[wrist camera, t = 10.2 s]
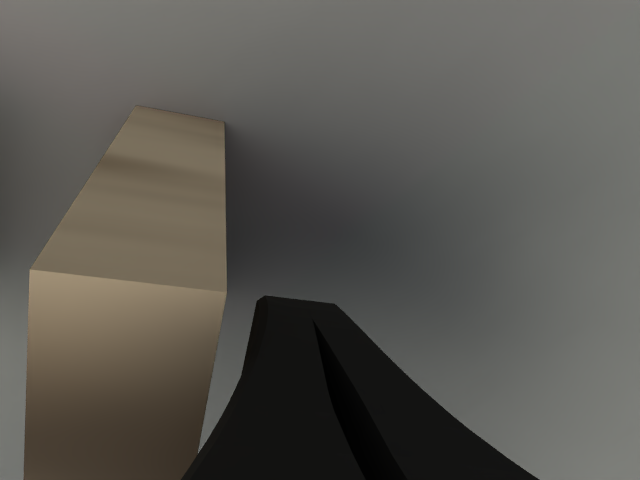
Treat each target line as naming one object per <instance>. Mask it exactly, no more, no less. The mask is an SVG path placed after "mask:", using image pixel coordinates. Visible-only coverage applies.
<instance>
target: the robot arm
mask: <svg viewBox="0 0 640 480" xmlns="http://www.w3.org/2000/svg"><path fill="white" fill-rule="evenodd" d="M181 480H539V479H538V478H536V477H534V476H533V475H531V474H530V473H529V472H527V471H526V470H524V469H523V468H521V467H520V466H518V465H517V464H515V463H514V462H513V461H511V460H510V459H508V458H507V457H506V456H504V455H503V454H502V453H500V452H499V451H497V450H496V449H495V448H493V447H492V446H491V445H489V444H488V443H487V442H485V441H484V440H483V439H481V438H480V437H479V436H477V435H476V434H475V433H473V432H472V431H471V430H469V429H468V428H467V427H466V426H464V425H463V424H462V423H461V422H460V421H458V420H457V419H456V418H455V417H453V416H452V415H451V414H450V413H449V412H448V411H446V410H445V409H444V408H443V407H442V406H441V405H439V404H438V403H437V402H436V401H435V400H434V399H433V398H431V397H430V396H429V395H428V394H427V393H426V392H425V391H423V390H422V389H421V388H420V387H419V386H418V385H417V384H416V383H415V382H414V381H413V380H412V379H410V378H409V377H408V376H407V375H406V374H405V373H404V372H403V371H402V370H401V369H400V368H399V367H398V366H397V365H396V364H395V363H394V362H393V361H392V360H391V359H390V358H389V357H388V356H387V355H386V354H385V353H384V352H383V351H382V350H381V349H380V348H379V347H378V346H377V345H376V344H375V343H374V342H373V341H372V340H371V339H370V338H369V337H368V336H367V335H366V334H365V333H364V332H363V331H362V330H361V329H360V328H359V327H358V326H357V325H356V324H355V323H354V322H353V321H352V320H351V319H350V318H349V317H348V316H347V315H346V314H345V313H344V312H343V311H342V310H341V309H340V308H339V307H338V306H337V305H335V304H332V303H323V302H315V301H306V300H298V299H289V298H281V297H272V296H264V297H262V298H260V299H259V300H257V303H256V308H255V312H254V317H253V322H252V327H251V332H250V336H249V341H248V346H247V351H246V356H245V360H244V365H243V370H242V375H241V378H240V380H239V382H238V384H237V386H236V389H235V391H234V393H233V395H232V397H231V399H230V401H229V403H228V405H227V407H226V409H225V411H224V412H223V414H222V416H221V418H220V420H219V421H218V423H217V425H216V426H215V428H214V430H213V431H212V433H211V435H210V436H209V438H208V440H207V441H206V443H205V444H204V446H203V447H202V449H201V450H200V452H199V453H198V455H197V456H196V458H195V459H194V461H193V462H192V464H191V465H190V467H189V468H188V470H187V471H186V473H185V474H184V476H183V477H182V478H181Z"/></svg>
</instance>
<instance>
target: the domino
mask: <svg viewBox="0 0 640 480" xmlns="http://www.w3.org/2000/svg"><path fill="white" fill-rule="evenodd" d="M226 295H227V262H226V194H225V127H224V122H223V121H217V120H212V119H207V118H201V117H196V116H190V115H185V114H180V113H174V112H169V111H163V110H158V109H153V108H147V107H142V106H135V108H134V110H133V111H132V113H131V114H130V116H129V117H128V119H127V120H126V122H125V123H124V125H123V126H122V128H121V130H120V131H119V133H118V134H117V136H116V137H115V139H114V140H113V142H112V143H111V145H110V146H109V148H108V150H107V151H106V153H105V154H104V156H103V157H102V159H101V160H100V162H99V163H98V165H97V167H96V168H95V170H94V171H93V173H92V174H91V176H90V177H89V179H88V180H87V182H86V183H85V185H84V187H83V188H82V190H81V191H80V193H79V194H78V196H77V197H76V199H75V200H74V202H73V203H72V205H71V207H70V208H69V210H68V211H67V213H66V214H65V216H64V217H63V219H62V220H61V222H60V224H59V225H58V227H57V228H56V230H55V231H54V233H53V234H52V236H51V237H50V239H49V240H48V242H47V244H46V245H45V247H44V248H43V250H42V251H41V253H40V254H39V256H38V257H37V259H36V260H35V262H34V264H33V265H32V267H31V268H30V276H29V311H28V346H27V380H26V415H25V450H24V480H181V478H182V477H183V476H184V474H185V473H186V471H187V470H188V468H189V467H190V465H191V464H192V462H193V461H194V459H195V458H196V456H197V454H198V448H199V443H200V437H201V432H202V426H203V421H204V415H205V410H206V404H207V399H208V393H209V388H210V382H211V377H212V372H213V366H214V361H215V355H216V350H217V344H218V339H219V333H220V328H221V322H222V317H223V311H224V306H225V300H226Z"/></svg>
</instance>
